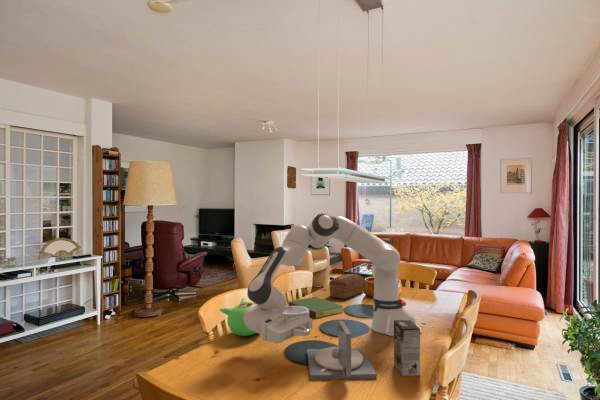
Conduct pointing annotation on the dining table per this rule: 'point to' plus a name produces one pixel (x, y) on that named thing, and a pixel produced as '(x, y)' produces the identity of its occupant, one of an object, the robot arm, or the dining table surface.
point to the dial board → (323, 373)
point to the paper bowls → (296, 311)
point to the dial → (340, 353)
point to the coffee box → (407, 347)
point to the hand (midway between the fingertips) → (307, 333)
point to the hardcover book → (318, 306)
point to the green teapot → (238, 318)
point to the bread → (346, 286)
